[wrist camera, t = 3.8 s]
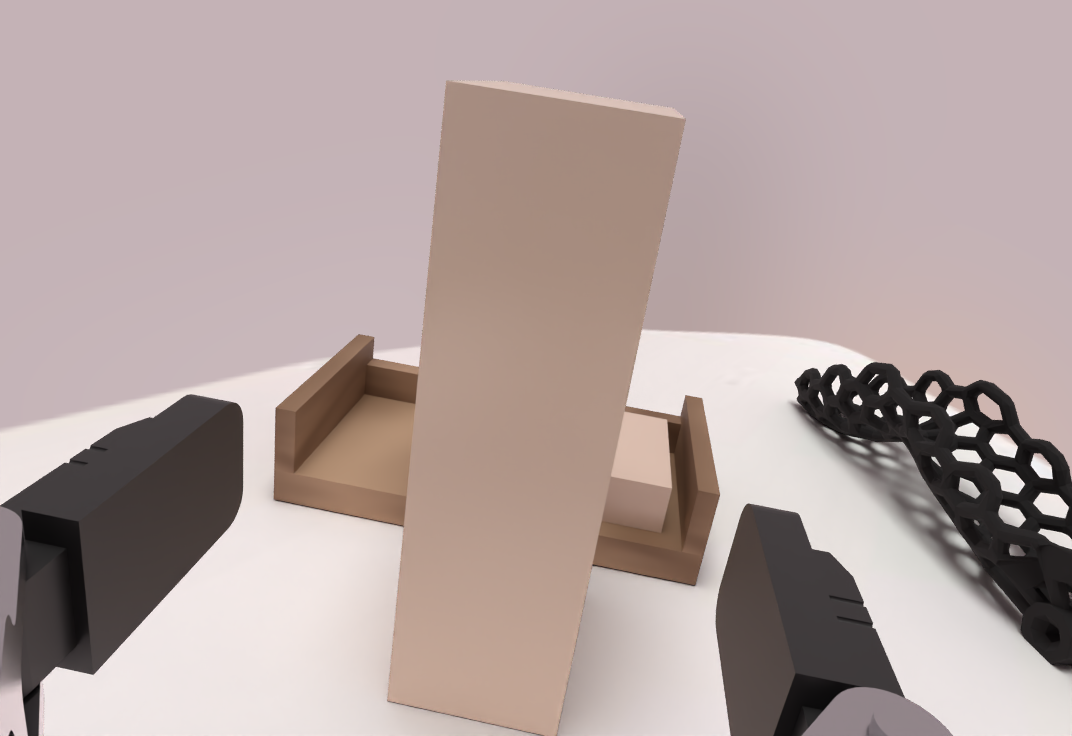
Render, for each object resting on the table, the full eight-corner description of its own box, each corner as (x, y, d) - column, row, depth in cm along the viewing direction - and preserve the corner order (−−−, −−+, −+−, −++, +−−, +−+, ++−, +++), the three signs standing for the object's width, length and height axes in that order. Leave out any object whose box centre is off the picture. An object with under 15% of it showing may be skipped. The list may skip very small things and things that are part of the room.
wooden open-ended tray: (683, 472, 33) (702, 398, 32) (695, 585, 26) (719, 494, 24) (354, 408, 34) (358, 334, 33) (273, 499, 27) (275, 407, 25)
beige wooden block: (575, 589, 25) (673, 108, 19) (555, 737, 19) (686, 118, 13) (444, 562, 25) (502, 81, 19) (387, 700, 19) (446, 80, 14)
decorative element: (770, 406, 43) (798, 307, 40) (851, 411, 44) (882, 315, 41) (1100, 739, 22) (1192, 576, 20) (1237, 735, 23) (1340, 579, 21)
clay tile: (657, 458, 31) (667, 419, 31) (661, 533, 26) (672, 488, 25) (554, 438, 32) (560, 399, 31) (536, 507, 26) (544, 463, 26)
